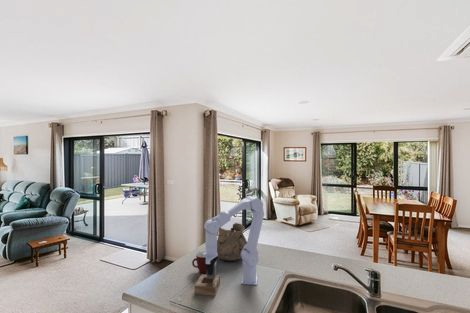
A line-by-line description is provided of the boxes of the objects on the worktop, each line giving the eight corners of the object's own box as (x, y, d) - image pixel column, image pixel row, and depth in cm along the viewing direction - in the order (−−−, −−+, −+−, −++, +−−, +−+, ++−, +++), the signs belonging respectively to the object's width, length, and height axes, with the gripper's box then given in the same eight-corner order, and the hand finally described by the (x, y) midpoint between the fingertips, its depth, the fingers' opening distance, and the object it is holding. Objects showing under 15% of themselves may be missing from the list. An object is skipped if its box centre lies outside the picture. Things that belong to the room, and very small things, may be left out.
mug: (191, 275, 128) (190, 257, 128) (193, 269, 136) (192, 251, 137) (210, 275, 129) (210, 257, 129) (211, 268, 137) (210, 251, 137)
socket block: (201, 282, 122) (201, 274, 122) (219, 283, 120) (219, 275, 120) (194, 294, 111) (194, 285, 111) (215, 295, 109) (215, 287, 110)
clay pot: (237, 269, 136) (237, 232, 136) (205, 260, 148) (205, 226, 148) (255, 254, 157) (255, 222, 158) (226, 247, 169) (226, 218, 169)
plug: (208, 274, 117) (208, 260, 117) (216, 274, 116) (216, 260, 116) (206, 278, 113) (206, 263, 113) (214, 278, 112) (214, 264, 112)
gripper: (207, 239, 122) (207, 265, 122) (199, 250, 108) (199, 279, 108) (220, 240, 122) (220, 266, 121) (214, 250, 107) (214, 280, 107)
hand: (211, 272), depth 115 cm, fingers closed on plug, 4 cm apart
